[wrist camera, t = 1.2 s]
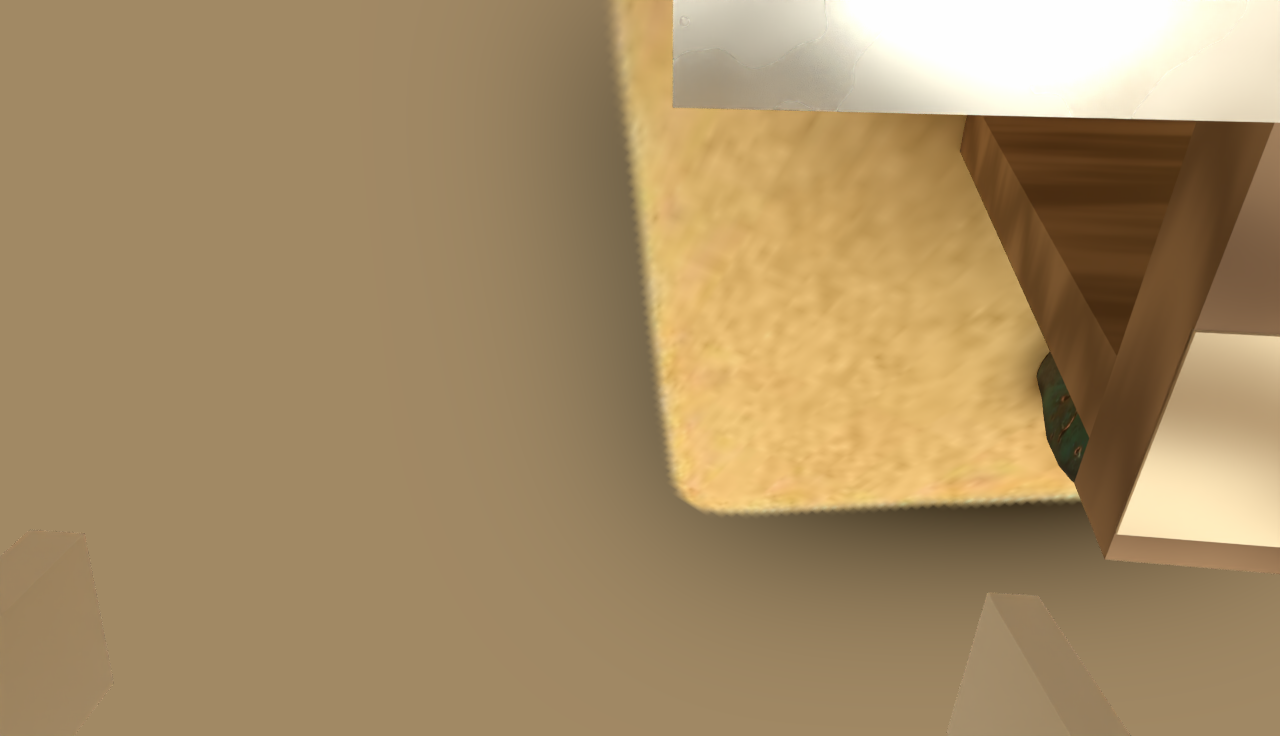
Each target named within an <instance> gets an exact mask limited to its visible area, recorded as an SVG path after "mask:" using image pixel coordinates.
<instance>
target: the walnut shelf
mask: <svg viewBox="0 0 1280 736" xmlns="http://www.w3.org/2000/svg"><path fill="white" fill-rule="evenodd" d="M960 152H961V154H962V157H963V159H964V161H965V163H966V166H967V168H968V170H969V172H970V174H971V177H972V179H973V181H974V183H975V186H976V188H977V190H978V192H979V194H980V197H981V199H982V201H983V203H984V205H985V208H986V210H987V212H988V214H989V217H990V219H991V221H992V223H993V225H994V228H995V230H996V232H997V234H998V237H999V239H1000V241H1001V243H1002V245H1003V248H1004V250H1005V252H1006V254H1007V257H1008V259H1009V261H1010V263H1011V265H1012V268H1013V270H1014V272H1015V274H1016V276H1017V279H1018V281H1019V283H1020V285H1021V288H1022V290H1023V292H1024V294H1025V296H1026V299H1027V301H1028V303H1029V305H1030V308H1031V310H1032V312H1033V314H1034V316H1035V319H1036V321H1037V323H1038V325H1039V327H1040V330H1041V332H1042V334H1043V336H1044V339H1045V341H1046V343H1047V345H1048V347H1049V350H1050V352H1051V354H1052V356H1053V359H1054V361H1055V363H1056V365H1057V367H1058V370H1059V372H1060V374H1061V376H1062V378H1063V381H1064V383H1065V385H1066V387H1067V390H1068V392H1069V394H1070V396H1071V398H1072V401H1073V403H1074V405H1075V407H1076V410H1077V412H1078V414H1079V416H1080V418H1081V421H1082V423H1083V425H1084V427H1085V430H1086V432H1087V434H1088V436H1089V441H1088V444H1087V447H1086V450H1085V453H1084V455H1083V458H1082V461H1081V464H1080V467H1079V470H1078V473H1077V476H1076V479H1075V482H1074V484H1075V486H1076V489H1077V491H1078V494H1079V496H1080V499H1081V501H1082V504H1083V506H1084V509H1085V511H1086V514H1087V516H1088V519H1089V521H1090V524H1091V526H1092V529H1093V531H1094V534H1095V536H1096V538H1097V541H1098V544H1099V546H1100V548H1101V551H1102V554H1103V556H1104V559H1106V560H1117V561H1130V562H1141V563H1153V564H1165V565H1177V566H1190V567H1202V568H1213V569H1225V570H1237V571H1249V572H1261V573H1273V574H1280V123H1275V122H1235V121H1195V120H1155V119H1114V118H1074V117H1034V116H994V115H967V118H966V123H965V128H964V134H963V139H962V144H961V149H960Z"/></svg>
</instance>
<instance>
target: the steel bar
mask: <svg viewBox="0 0 1280 736" xmlns="http://www.w3.org/2000/svg"><path fill="white" fill-rule="evenodd" d="M673 108H713V109H753V110H793V111H833V112H873V113H913V114H954V115H994V116H1034V117H1074V118H1114V119H1155V120H1195V121H1235V122H1275V123H1280V0H673Z"/></svg>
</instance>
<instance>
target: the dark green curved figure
mask: <svg viewBox="0 0 1280 736" xmlns="http://www.w3.org/2000/svg"><path fill="white" fill-rule="evenodd" d="M1037 381H1038V385H1039V389H1040V393H1041V397H1042V404H1043V415H1044V422H1045V429H1046V436H1047V440H1048V443H1049V445H1050V447H1051V449H1052V452H1053V454H1054V456H1055V458H1056V460H1057V462H1058V465H1059V466H1060V468H1061V469H1062V470H1063V471H1064V472H1065V473H1066V475H1067V476H1068V477H1069V478H1070V479H1071V481H1073V482H1075V479H1076V476H1077V473H1078V470H1079V467H1080V464H1081V461H1082V458H1083V455H1084V453H1085V450H1086V447H1087V444H1088V441H1089V436H1088V434H1087V432H1086V430H1085V427H1084V425H1083V423H1082V421H1081V418H1080V416H1079V414H1078V412H1077V410H1076V407H1075V405H1074V403H1073V401H1072V398H1071V396H1070V394H1069V392H1068V390H1067V387H1066V385H1065V383H1064V381H1063V378H1062V376H1061V374H1060V372H1059V370H1058V367H1057V365H1056V363H1055V361H1054V359H1053V356H1052V354H1051V352H1050V353H1049V354H1048V355H1047V356H1046V358H1045V359H1044V361H1043V362H1042V364H1041V366H1040V368H1039V370H1038V373H1037Z"/></svg>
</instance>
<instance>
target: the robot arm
mask: <svg viewBox="0 0 1280 736" xmlns="http://www.w3.org/2000/svg"><path fill="white" fill-rule="evenodd" d="M113 683H114V682H113V676H112V671H111V666H110V661H109V655H108V650H107V646H106V640H105V635H104V630H103V625H102V619H101V614H100V609H99V604H98V599H97V594H96V589H95V584H94V578H93V573H92V568H91V563H90V558H89V552H88V548H87V542H86V537H85V533H74V532H58V531H43V530H29V531H28V532H27V533H26V534H24V535H23V536H22V537H21V538H20V539H19V540H18V541H17V542H15V543H14V544H13V545H12V546H11V547H10V548H9V549H8V550H7V551H5V552H4V554H2V555H1V556H0V736H74V735H75V734H76V733H77V732H78V730H79V729H80V728H81V726H82V725H83V724H84V722H85V721H86V720H87V718H88V717H89V716H90V714H91V713H92V712H93V710H94V709H95V707H96V706H97V705H98V704H99V702H100V701H101V700H102V698H103V697H104V696H105V694H106V693H107V692H108V690H109V689H110V688H111V686H112V685H113ZM947 734H948V736H1131V735H1130V733H1129V732H1128V731H1127V729H1126V728H1125V726H1124V724H1123V723H1122V721H1121V720H1120V718H1119V717H1118V716H1117V714H1116V712H1115V711H1114V709H1113V708H1112V707H1111V705H1110V703H1109V702H1108V700H1107V699H1106V697H1105V696H1104V694H1103V693H1102V691H1101V690H1100V688H1099V687H1098V685H1097V684H1096V682H1095V681H1094V679H1093V678H1092V676H1091V675H1090V673H1089V672H1088V671H1087V669H1086V667H1085V666H1084V664H1083V663H1082V661H1081V660H1080V658H1079V657H1078V656H1077V654H1076V652H1075V651H1074V649H1073V648H1072V646H1071V645H1070V643H1069V642H1068V640H1067V639H1066V637H1065V636H1064V634H1063V633H1062V631H1061V630H1060V628H1059V627H1058V625H1057V624H1056V622H1055V621H1054V619H1053V618H1052V616H1051V615H1050V613H1049V612H1048V610H1047V609H1046V607H1045V606H1044V604H1043V603H1042V601H1041V600H1040V598H1039V597H1038V596H1033V595H1018V594H1003V593H987V596H986V599H985V603H984V606H983V609H982V613H981V616H980V620H979V623H978V627H977V631H976V634H975V637H974V640H973V644H972V647H971V651H970V654H969V658H968V662H967V665H966V668H965V671H964V675H963V678H962V682H961V685H960V689H959V692H958V696H957V699H956V702H955V706H954V709H953V713H952V717H951V720H950V723H949V727H948V730H947Z"/></svg>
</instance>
